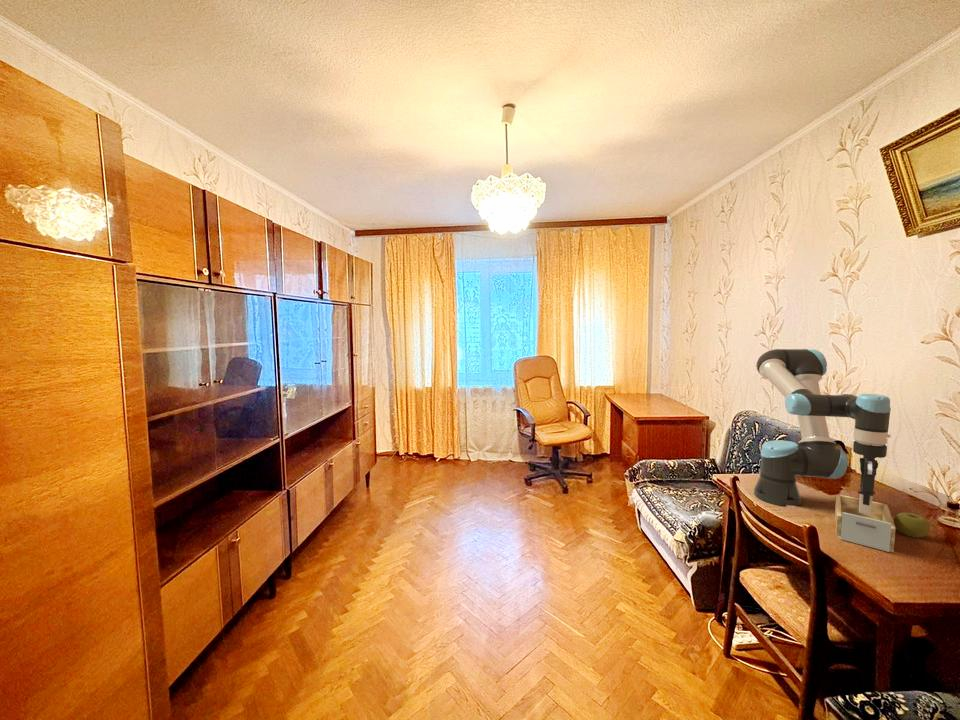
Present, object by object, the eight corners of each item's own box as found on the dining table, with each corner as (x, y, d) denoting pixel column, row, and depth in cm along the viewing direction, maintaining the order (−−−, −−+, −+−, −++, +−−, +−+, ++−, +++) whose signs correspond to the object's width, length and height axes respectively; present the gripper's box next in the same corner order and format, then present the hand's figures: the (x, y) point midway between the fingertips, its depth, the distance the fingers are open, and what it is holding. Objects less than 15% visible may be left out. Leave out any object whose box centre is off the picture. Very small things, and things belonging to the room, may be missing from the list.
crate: (835, 539, 125) (837, 516, 125) (834, 514, 142) (836, 493, 141) (893, 554, 117) (895, 530, 116) (885, 526, 133) (887, 504, 132)
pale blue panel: (840, 539, 124) (842, 513, 123) (840, 538, 124) (842, 511, 124) (889, 552, 116) (891, 524, 115) (888, 550, 117) (891, 523, 116)
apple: (931, 545, 122) (933, 523, 121) (894, 536, 127) (896, 515, 126) (926, 535, 127) (928, 515, 126) (891, 527, 132) (893, 507, 132)
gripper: (889, 450, 115) (883, 524, 117) (884, 440, 124) (879, 509, 126) (854, 445, 120) (849, 516, 122) (852, 435, 129) (848, 502, 131)
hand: (864, 512), depth 124 cm, fingers closed
